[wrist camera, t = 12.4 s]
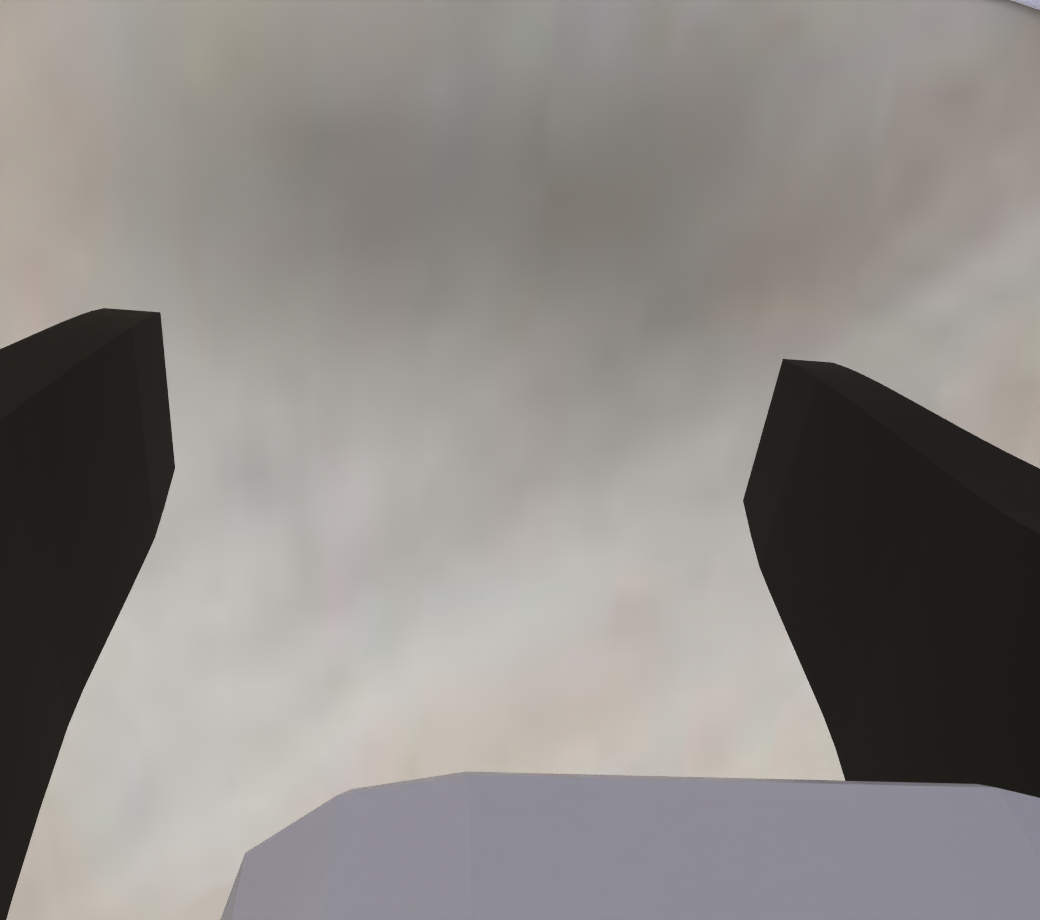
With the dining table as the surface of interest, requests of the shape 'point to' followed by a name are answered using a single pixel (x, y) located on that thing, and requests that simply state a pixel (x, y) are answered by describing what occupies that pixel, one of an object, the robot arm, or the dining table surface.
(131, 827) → the dining table surface
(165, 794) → the dining table surface
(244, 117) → the dining table surface
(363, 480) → the dining table surface
